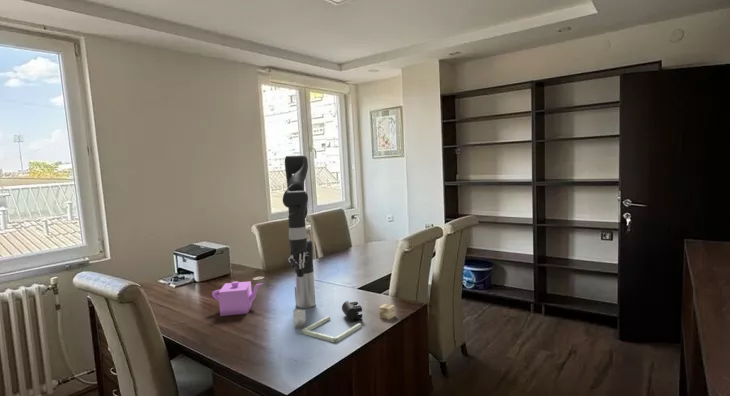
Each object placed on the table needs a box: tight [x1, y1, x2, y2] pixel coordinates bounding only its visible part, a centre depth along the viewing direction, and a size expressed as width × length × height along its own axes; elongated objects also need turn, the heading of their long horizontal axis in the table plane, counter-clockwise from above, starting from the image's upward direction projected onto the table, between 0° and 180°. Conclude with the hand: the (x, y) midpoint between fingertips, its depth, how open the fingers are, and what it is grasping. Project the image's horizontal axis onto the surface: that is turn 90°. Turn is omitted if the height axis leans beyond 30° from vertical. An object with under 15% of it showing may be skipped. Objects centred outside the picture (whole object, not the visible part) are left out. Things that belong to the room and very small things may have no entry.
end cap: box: [341, 300, 363, 323], centre depth 180 cm, size 10×7×7 cm
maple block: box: [378, 303, 396, 320], centre depth 180 cm, size 5×5×5 cm
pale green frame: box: [301, 315, 362, 344], centre depth 168 cm, size 18×17×2 cm
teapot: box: [211, 280, 264, 317], centre depth 199 cm, size 15×25×14 cm, turn 98°
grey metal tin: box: [293, 308, 307, 330], centre depth 174 cm, size 5×5×7 cm
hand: (300, 276), depth 173 cm, fingers closed
